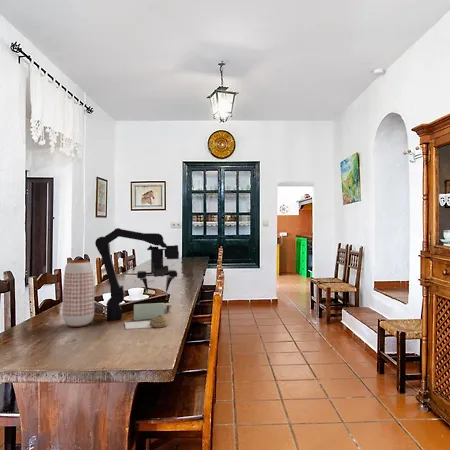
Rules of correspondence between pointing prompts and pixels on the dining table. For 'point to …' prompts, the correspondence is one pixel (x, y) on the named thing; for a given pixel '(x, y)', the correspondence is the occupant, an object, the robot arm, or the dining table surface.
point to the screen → (148, 311)
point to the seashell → (159, 321)
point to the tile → (137, 325)
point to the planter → (78, 293)
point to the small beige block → (167, 307)
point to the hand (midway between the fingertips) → (156, 292)
